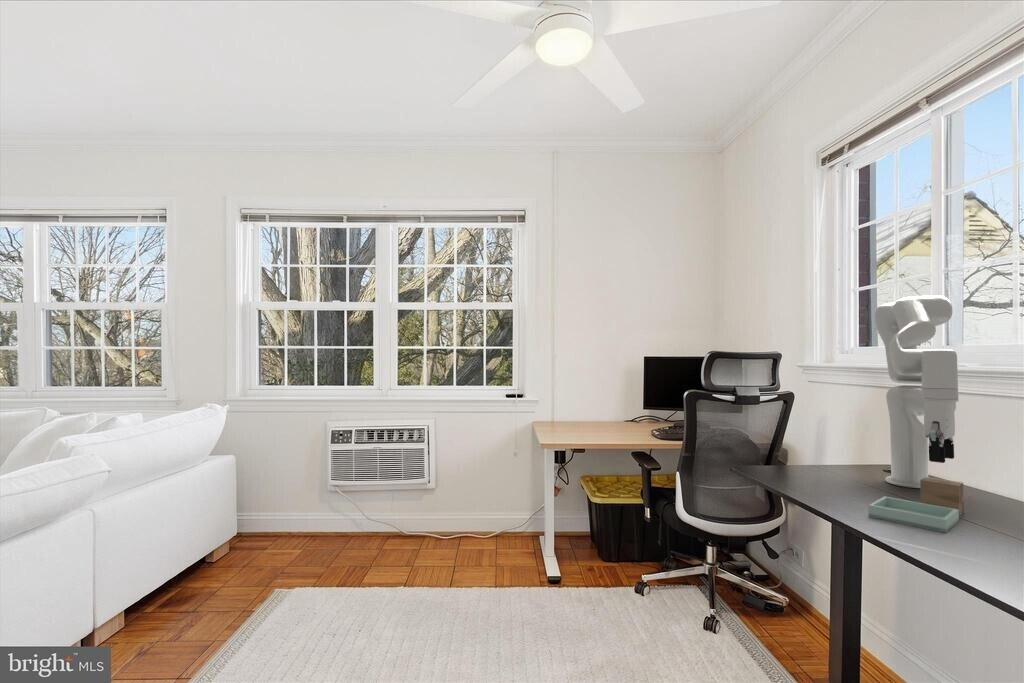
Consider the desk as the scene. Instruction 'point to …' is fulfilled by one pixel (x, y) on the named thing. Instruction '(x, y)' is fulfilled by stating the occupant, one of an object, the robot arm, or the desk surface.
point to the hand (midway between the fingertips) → (941, 459)
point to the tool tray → (914, 514)
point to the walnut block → (942, 493)
